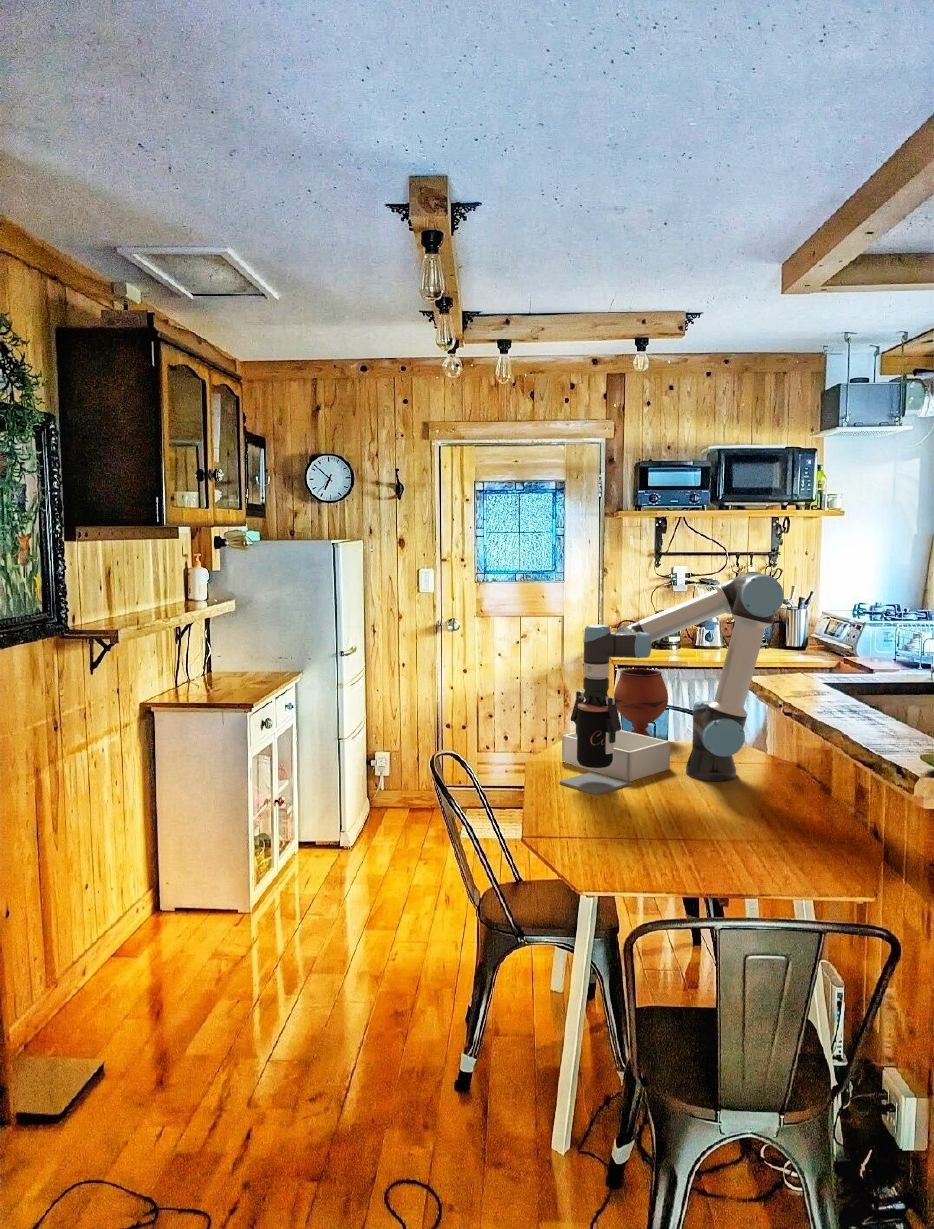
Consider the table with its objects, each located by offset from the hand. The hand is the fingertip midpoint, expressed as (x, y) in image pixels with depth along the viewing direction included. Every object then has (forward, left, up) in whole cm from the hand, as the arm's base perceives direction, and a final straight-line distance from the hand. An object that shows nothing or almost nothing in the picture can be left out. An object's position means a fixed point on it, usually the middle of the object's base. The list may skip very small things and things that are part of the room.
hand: (594, 749), depth 263 cm
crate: (+9, -20, -11) cm, 24 cm away
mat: (0, 0, -11) cm, 11 cm away
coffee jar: (0, 0, -5) cm, 5 cm away
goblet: (+25, -53, -11) cm, 60 cm away
